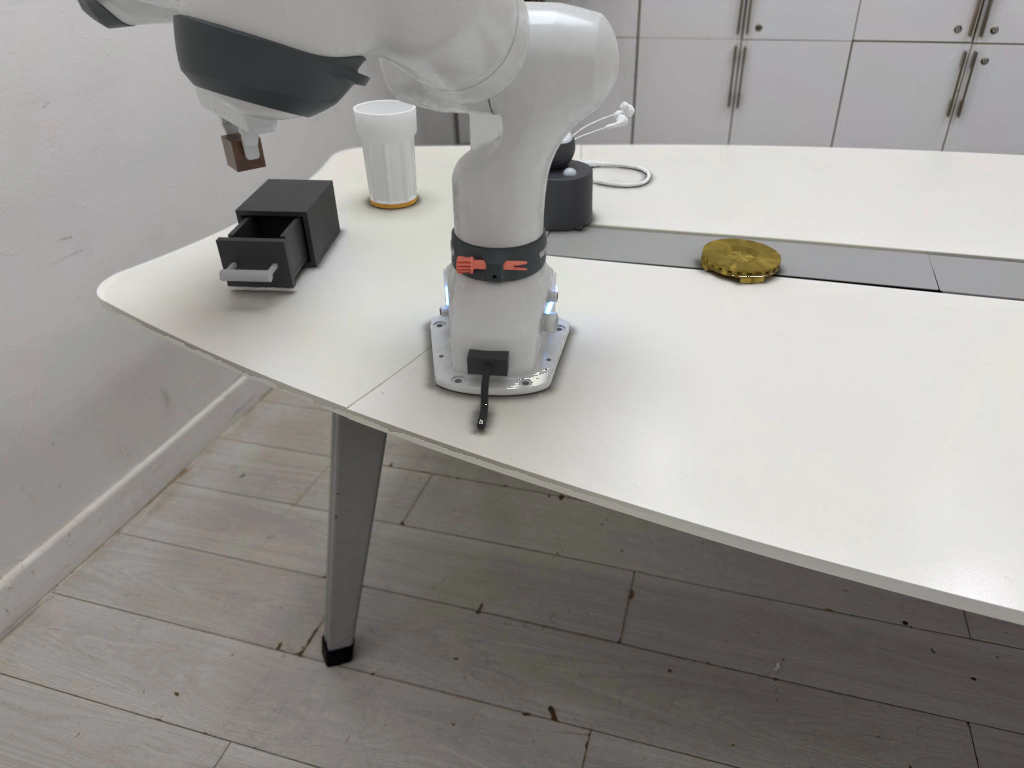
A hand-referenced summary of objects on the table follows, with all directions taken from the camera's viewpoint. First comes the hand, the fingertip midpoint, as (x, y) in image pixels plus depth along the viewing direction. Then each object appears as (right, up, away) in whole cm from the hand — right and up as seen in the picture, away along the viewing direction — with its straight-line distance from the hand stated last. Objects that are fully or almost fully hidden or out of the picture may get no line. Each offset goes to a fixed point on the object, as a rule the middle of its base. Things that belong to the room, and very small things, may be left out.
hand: (244, 153), depth 93 cm
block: (0, -1, +1) cm, 2 cm away
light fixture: (+45, -1, +32) cm, 56 cm away
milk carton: (+33, +10, +48) cm, 59 cm away
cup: (+14, +4, +39) cm, 41 cm away
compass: (+73, -13, +15) cm, 76 cm away
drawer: (0, -15, +10) cm, 18 cm away
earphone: (+57, +13, +52) cm, 78 cm away
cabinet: (+1, -9, +21) cm, 22 cm away
